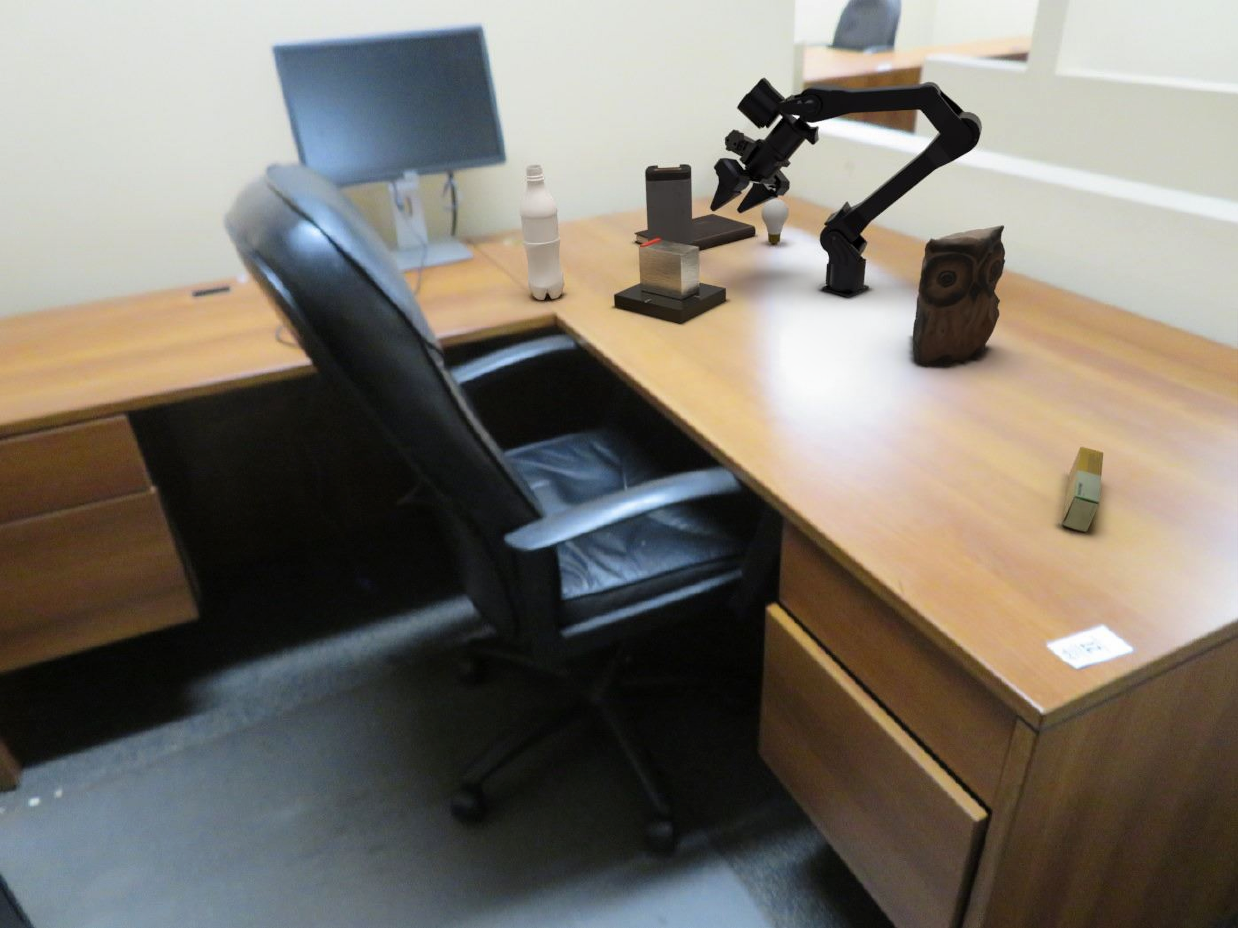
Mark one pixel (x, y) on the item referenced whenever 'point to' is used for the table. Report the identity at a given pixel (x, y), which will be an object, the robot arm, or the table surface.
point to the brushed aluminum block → (669, 268)
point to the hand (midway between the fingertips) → (725, 211)
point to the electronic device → (669, 203)
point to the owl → (958, 297)
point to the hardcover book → (711, 231)
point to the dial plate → (670, 302)
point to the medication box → (1083, 490)
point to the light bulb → (774, 218)
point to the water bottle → (541, 237)
